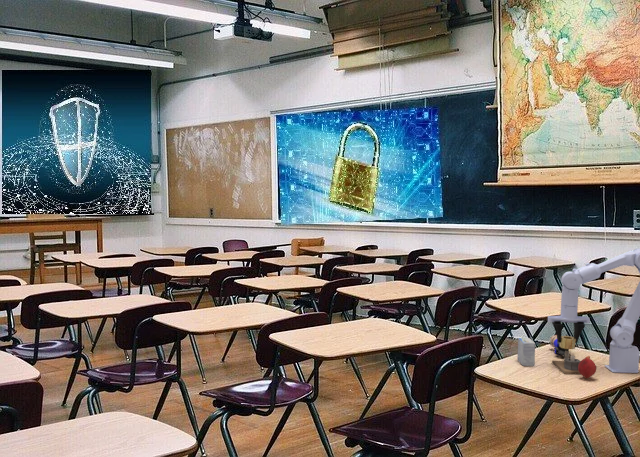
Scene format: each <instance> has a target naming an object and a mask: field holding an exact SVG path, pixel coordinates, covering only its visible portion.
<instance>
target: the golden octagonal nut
mask: <svg viewBox="0 0 640 457" xmlns="http://www.w3.org/2000/svg"><path fill="white" fill-rule="evenodd" d="M575 342H576V339H575V338H574V336H571V335H570V336H569V335H568V336H566V335H561V343H560V347H561V348H564V349H569V350H573V349H574V350H575V349H576V343H575Z"/></svg>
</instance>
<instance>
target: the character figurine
mask: <svg viewBox="0 0 640 457" xmlns="http://www.w3.org/2000/svg"><path fill="white" fill-rule="evenodd" d="M565 336H569V335H568V334H565ZM549 345H550V347H552V348H554V354H555V355H556V354H558V355H560V356H563V357H565V351H569V352H570V349H564V348H561V347H560V343H559V342H558V341H557V335H556V334H553V335H551V336H550V337H549Z"/></svg>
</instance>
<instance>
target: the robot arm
mask: <svg viewBox="0 0 640 457" xmlns="http://www.w3.org/2000/svg"><path fill="white" fill-rule="evenodd" d="M584 264H585V265H583V266H581V267H579V268H572V271H566V272H564V273H563V274H562V276H561V278H560V281H561V284H562V287H561V298H560V300H561V301H560V315H548V316H547V322H548V323H552V325H553V327H554V331H555V335H557V341H558V342H559V343H561V336H562V332H563V327H564V325H563V324H562V323H572V324H573V330H574V332H573V337H574V338H575V339H576V342H575V344H577V343H578V341H579V338H580V336H581V333H582V332H583V330H584V329H585V328H586V327H585V326H586V324H590V320H591V319H590V317H589V316H578V308H579V307H578V305H579V287H580V286H581V285H584V284H587V283H589V282H591V281H595V280H596V279H599V278H600V277H601V274H602V273H604V272H607V271H608V272H609V271H611V270H614V269H616V268H620V267H622V266H626V267H627V266H628V267H634V268H636V269H637V271H638V273H639V274H640V248H639V247H638V248H635V249H634V250H628V251H625V252H624V253H620V254H618V255H616V256H613V257H612V258H609V259H607V260H605V261H602V262H601V263H598V264H596V263H594V262H591V263H589V262H586V263H584ZM639 318H640V281H639V282H638V284H637V286H636V287H635V290H634V291H633V294H632V296H631V297H630V300H629V302H628V304H627V307H626V308H625V310H624V312H623V314H622V316H621V317H620V318H619V319H618V320H617V322H616V324H614V326H612V327H611V328H610V331H609V335H610V337H611V339H612V340H611V342H610V343H609V357H608V360H609V361H608V364H604V367H605V368H606V369H608V370H609V371H610V372H611V373H620V374H621V373H622V374H623V373H626V374H627V373H629V374H632V373H633V374H639V373H640V371H639V366H640V351H639V348H638V347H637V346H635V345H633V342H634V334H635V332H636V326H637V323H638V320H639ZM638 372H639V373H638Z"/></svg>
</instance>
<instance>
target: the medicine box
mask: <svg viewBox="0 0 640 457" xmlns="http://www.w3.org/2000/svg"><path fill="white" fill-rule="evenodd" d="M535 357H536V343H535V342H534V341H533V339H531V338H530V337H518V338H517V359H516V360H517V361H518V362H519V363H520V364H521V366H523V367H535V362H536V361H535V359H536V358H535Z"/></svg>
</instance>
